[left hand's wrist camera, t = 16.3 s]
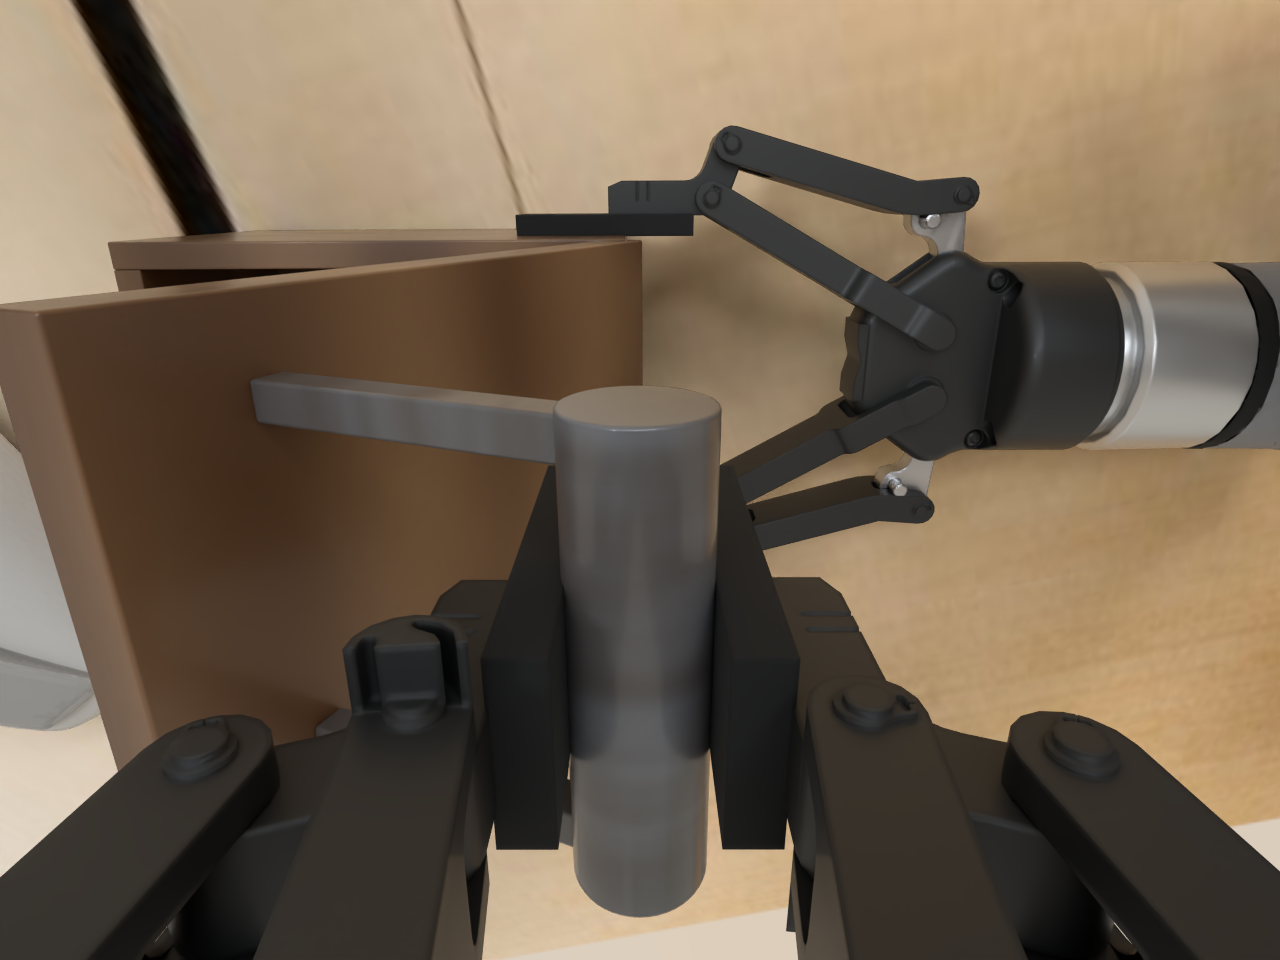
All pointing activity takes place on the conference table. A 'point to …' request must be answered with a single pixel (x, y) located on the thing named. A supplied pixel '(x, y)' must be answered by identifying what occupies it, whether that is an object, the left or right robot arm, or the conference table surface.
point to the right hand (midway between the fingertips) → (529, 360)
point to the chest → (302, 252)
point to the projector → (35, 618)
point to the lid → (386, 508)
